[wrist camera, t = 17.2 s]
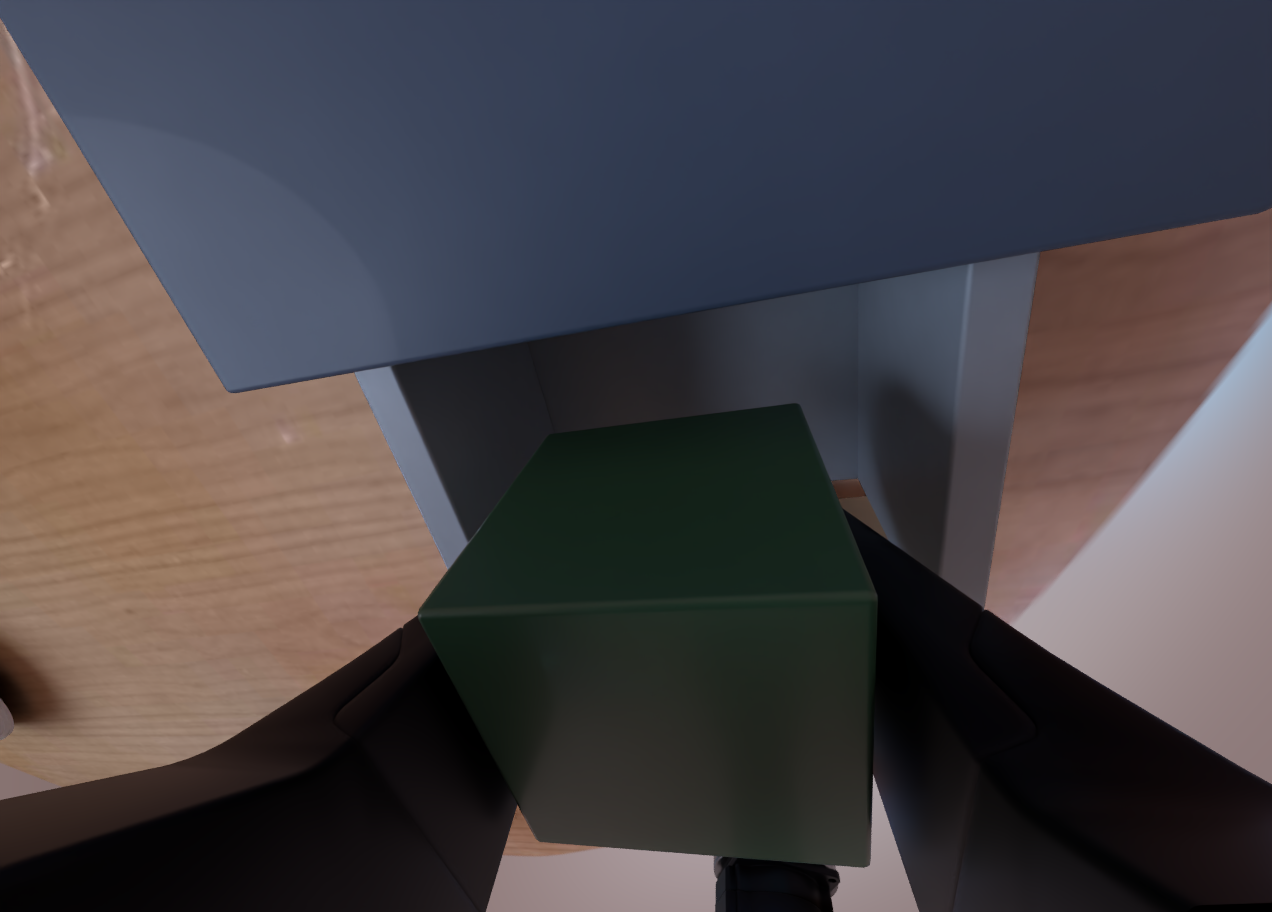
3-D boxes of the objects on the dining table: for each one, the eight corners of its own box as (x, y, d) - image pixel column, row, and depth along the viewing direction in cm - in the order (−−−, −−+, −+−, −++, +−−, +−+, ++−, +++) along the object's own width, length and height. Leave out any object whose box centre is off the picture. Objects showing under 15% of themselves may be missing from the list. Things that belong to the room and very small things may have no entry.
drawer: (893, 641, 17) (982, 867, 12) (596, 646, 20) (545, 833, 14) (933, -188, 9) (1428, -1088, 3) (386, 14, 11) (3, -201, 5)
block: (547, 432, 9) (410, 613, 5) (800, 400, 8) (881, 595, 4) (601, 611, 11) (535, 844, 7) (810, 604, 10) (872, 871, 6)
